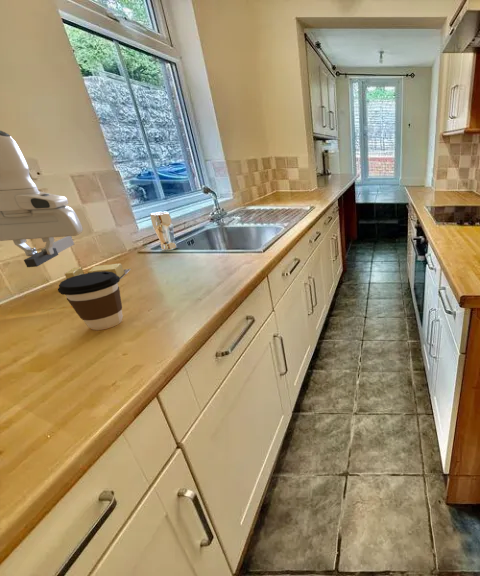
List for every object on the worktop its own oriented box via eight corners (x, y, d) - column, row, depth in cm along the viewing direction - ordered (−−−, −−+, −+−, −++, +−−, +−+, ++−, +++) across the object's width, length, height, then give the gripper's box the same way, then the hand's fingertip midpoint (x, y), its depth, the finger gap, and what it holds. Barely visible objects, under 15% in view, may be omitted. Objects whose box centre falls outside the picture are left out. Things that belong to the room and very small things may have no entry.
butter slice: (69, 284, 97) (64, 273, 95) (78, 278, 102) (73, 267, 100) (77, 283, 97) (72, 273, 96) (85, 277, 102) (81, 267, 101)
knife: (37, 266, 80) (31, 255, 79) (27, 267, 79) (21, 256, 78) (78, 244, 98) (74, 234, 97) (69, 244, 97) (65, 235, 96)
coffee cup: (117, 310, 85) (100, 268, 80) (143, 317, 81) (128, 274, 76) (66, 330, 75) (44, 283, 70) (94, 339, 72) (73, 291, 67)
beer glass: (182, 245, 140) (172, 211, 133) (173, 250, 133) (163, 214, 127) (165, 246, 139) (155, 211, 133) (156, 251, 133) (145, 215, 127)
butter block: (91, 282, 98) (87, 271, 97) (99, 275, 103) (95, 265, 102) (118, 279, 101) (114, 268, 99) (124, 273, 105) (121, 263, 104)
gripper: (-53, 205, 71) (-22, 263, 77) (61, 200, 78) (83, 254, 84) (-31, 201, 77) (-3, 255, 82) (74, 197, 83) (93, 248, 89)
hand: (41, 255), depth 83 cm, fingers closed on knife, 2 cm apart
